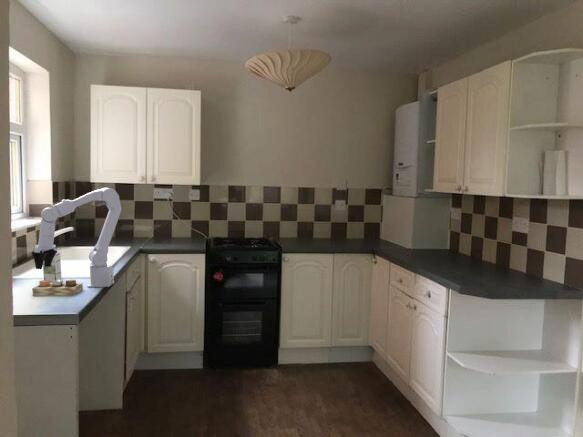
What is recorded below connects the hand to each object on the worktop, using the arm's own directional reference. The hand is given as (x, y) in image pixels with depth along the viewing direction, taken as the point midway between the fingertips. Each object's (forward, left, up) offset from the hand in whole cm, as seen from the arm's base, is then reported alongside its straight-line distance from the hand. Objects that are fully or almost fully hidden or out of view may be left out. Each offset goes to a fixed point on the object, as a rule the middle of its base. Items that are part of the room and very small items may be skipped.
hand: (43, 267), depth 207 cm
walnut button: (-12, +1, -8) cm, 14 cm away
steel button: (-6, +1, -8) cm, 10 cm away
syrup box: (+3, -14, -11) cm, 18 cm away
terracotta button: (-1, +1, -8) cm, 8 cm away
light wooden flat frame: (-6, +1, -11) cm, 12 cm away
